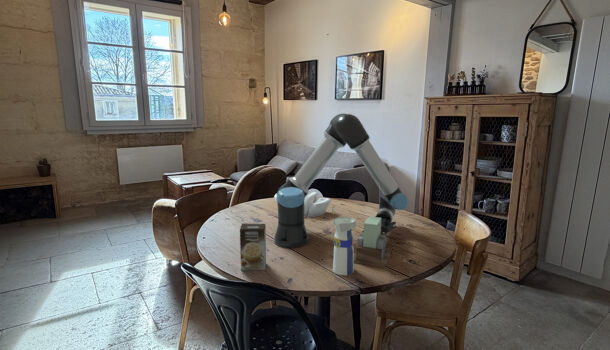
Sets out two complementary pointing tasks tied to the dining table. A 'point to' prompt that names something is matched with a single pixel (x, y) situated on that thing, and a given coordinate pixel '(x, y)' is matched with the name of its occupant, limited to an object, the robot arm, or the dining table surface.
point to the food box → (253, 246)
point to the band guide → (372, 252)
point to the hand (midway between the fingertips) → (375, 235)
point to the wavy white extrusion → (313, 205)
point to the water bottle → (343, 245)
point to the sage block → (371, 232)
